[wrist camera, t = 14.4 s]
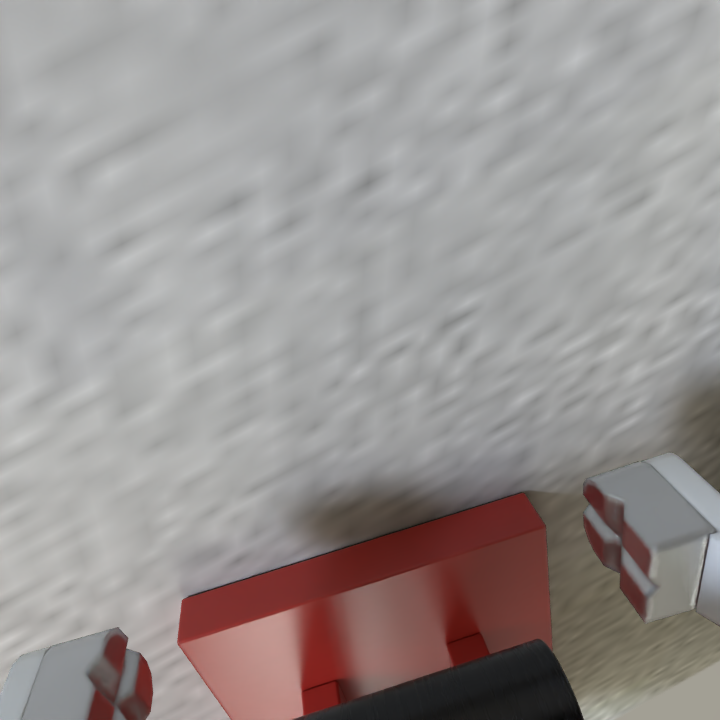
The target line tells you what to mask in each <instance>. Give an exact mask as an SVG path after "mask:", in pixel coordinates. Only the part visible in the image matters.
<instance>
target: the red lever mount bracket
mask: <svg viewBox="0 0 720 720" xmlns="http://www.w3.org/2000/svg"><path fill="white" fill-rule="evenodd" d="M535 639H541V640H543V641H544V642H545V643H546V644H547V645H548V646H549V648H550V649H551V650H552V652H553V648H552V630H551V612H550V593H549V575H548V557H547V539H546V525H545V524H544V522H543V521H542V519H541V518H540V516H539V515H538V513H537V512H536V510H535V508H534V507H533V505H532V504H531V502H530V501H529V499H528V498H527V496H526V495H525V494H524V493H520V494H516V495H513V496H510V497H507V498H504V499H500V500H497V501H494V502H491V503H488V504H485V505H481V506H478V507H475V508H472V509H469V510H465V511H462V512H459V513H456V514H453V515H449V516H446V517H443V518H440V519H437V520H433V521H430V522H427V523H424V524H421V525H418V526H414V527H411V528H408V529H405V530H402V531H398V532H395V533H392V534H389V535H386V536H382V537H379V538H376V539H373V540H370V541H367V542H363V543H360V544H357V545H354V546H351V547H347V548H344V549H341V550H338V551H335V552H331V553H328V554H325V555H322V556H319V557H315V558H312V559H309V560H306V561H303V562H300V563H296V564H293V565H290V566H287V567H284V568H280V569H277V570H274V571H271V572H268V573H264V574H261V575H258V576H255V577H252V578H248V579H245V580H242V581H239V582H236V583H233V584H229V585H226V586H223V587H220V588H217V589H213V590H210V591H207V592H204V593H201V594H197V595H194V596H191V597H188V598H185V599H183V600H182V605H181V614H180V622H179V631H178V640H177V643H178V645H179V647H180V648H181V649H182V651H183V652H184V654H185V655H186V656H187V658H188V659H189V661H190V662H191V664H192V665H193V666H194V668H195V669H196V671H197V672H198V673H199V675H200V676H201V678H202V679H203V680H204V682H205V683H206V685H207V686H208V688H209V689H210V690H211V692H212V693H213V695H214V696H215V697H216V699H217V700H218V702H219V703H220V704H221V706H222V707H223V709H224V710H225V712H226V713H227V714H228V716H229V717H230V719H231V720H292V719H295V718H298V717H301V716H304V715H307V714H310V713H313V712H316V711H319V710H322V709H325V708H328V707H331V706H334V705H337V704H340V703H343V702H346V701H350V700H353V699H356V698H359V697H362V696H365V695H368V694H371V693H374V692H377V691H380V690H383V689H386V688H389V687H392V686H395V685H398V684H401V683H404V682H407V681H410V680H413V679H416V678H419V677H422V676H425V675H428V674H432V673H435V672H438V671H441V670H444V669H447V668H450V667H453V666H456V665H459V664H462V663H465V662H468V661H471V660H474V659H477V658H480V657H483V656H486V655H489V654H492V653H495V652H498V651H501V650H504V649H507V648H510V647H514V646H517V645H520V644H523V643H526V642H529V641H532V640H535Z"/></svg>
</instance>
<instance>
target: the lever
mask: <svg viewBox="0 0 720 720" xmlns="http://www.w3.org/2000/svg"><path fill="white" fill-rule="evenodd" d="M292 720H584V719H583V716H582V713H581V710H580V707H579V705H578V702H577V699H576V697H575V695H574V692H573V690H572V688H571V685H570V683H569V681H568V679H567V677H566V675H565V673H564V671H563V669H562V667H561V665H560V663H559V662H558V660H557V658H556V657H555V655H554V653H553V652H552V650H551V649H550V648H549V646H548V645H547V644H546V643H545V642H544V641H543V640H541V639H535V640H532V641H529V642H526V643H523V644H520V645H517V646H514V647H510V648H507V649H504V650H501V651H498V652H495V653H492V654H489V655H486V656H483V657H480V658H477V659H474V660H471V661H468V662H465V663H462V664H459V665H456V666H453V667H450V668H447V669H444V670H441V671H438V672H435V673H432V674H428V675H425V676H422V677H419V678H416V679H413V680H410V681H407V682H404V683H401V684H398V685H395V686H392V687H389V688H386V689H383V690H380V691H377V692H374V693H371V694H368V695H365V696H362V697H359V698H356V699H353V700H350V701H346V702H343V703H340V704H337V705H334V706H331V707H328V708H325V709H322V710H319V711H316V712H313V713H310V714H307V715H304V716H301V717H298V718H295V719H292Z"/></svg>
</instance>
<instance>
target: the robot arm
mask: <svg viewBox="0 0 720 720" xmlns="http://www.w3.org/2000/svg"><path fill="white" fill-rule="evenodd" d="M583 495H584V496H585V498H586V499H587V500H588V502H589V503H590V504H589V505H588V506H587V508H586V509H585V511H584V512H583V518H584V528H585V531H586V534H587V537H588V540H589V542H590V544H591V546H592V548H593V550H594V552H595V553H596V555H597V556H598V558H599V559H600V561H601V562H602V564H603V565H604V566H606V567H608V568H610V569H612V570H614V571H616V572H618V573H620V589H621V590H622V592H623V593H624V595H625V596H626V597H627V599H628V600H629V602H630V603H631V604H632V606H633V607H634V609H635V610H636V611H637V613H638V614H639V616H640V617H641V618H642V620H643V621H644V622H645V624H646V623H649V622H653V621H656V620H659V619H663V618H666V617H670V616H673V615H676V614H680V613H683V612H686V611H690V610H693V609H696V612H697V613H699V614H700V615H702V616H704V617H705V618H707V619H709V620H710V621H712V622H713V623H715V624H717V625H718V626H720V493H719V492H718V491H717V490H716V489H715V488H714V487H712V486H711V485H710V484H709V483H708V482H707V481H706V480H705V479H704V478H702V477H701V476H700V475H699V474H698V473H697V472H696V471H695V470H694V469H692V468H691V467H690V466H689V465H688V464H687V463H686V462H685V461H684V460H682V459H681V458H680V457H679V456H678V455H676V454H673V453H671V452H669V453H666V454H663V455H659V456H656V457H653V458H650V459H647V460H643V461H641V462H635V463H632V464H629V465H626V466H623V467H620V468H617V469H614V470H611V471H608V472H605V473H602V474H599V475H596V476H593V477H590V478H587V479H586V480H585V482H584V484H583ZM127 641H128V637H127V636H126V635H125V634H124V633H123V632H122V631H121V630H120V629H119V627H117V628H113V629H109V630H106V631H102V632H99V633H95V634H92V635H88V636H85V637H81V638H78V639H74V640H71V641H67V642H64V643H60V644H57V645H53V646H50V647H47V648H43V649H40V650H37V651H34V652H30V653H27V654H24V655H21V656H20V657H19V658H18V659H17V661H16V662H15V663H14V664H13V665H12V667H11V669H10V671H9V674H8V677H7V679H6V682H5V684H4V687H3V690H2V692H1V695H0V720H146V718H147V716H148V715H149V713H150V712H151V704H152V696H153V688H152V677H151V672H150V669H149V666H148V664H147V661H146V660H145V659H144V657H143V656H142V655H141V653H139V652H136V651H132V650H129V649H126V647H127Z"/></svg>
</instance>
